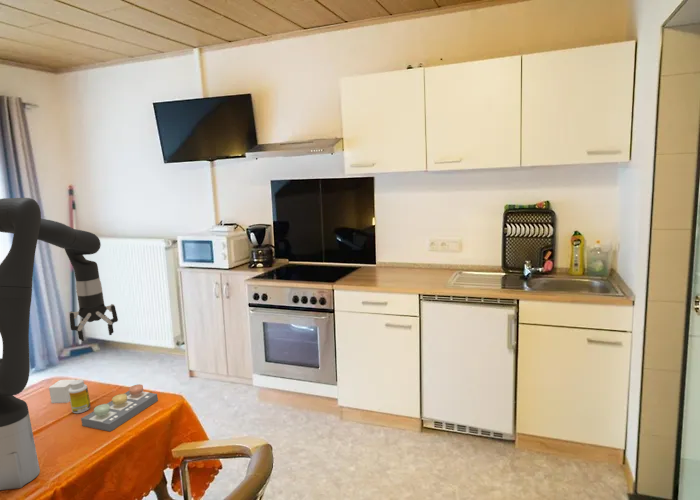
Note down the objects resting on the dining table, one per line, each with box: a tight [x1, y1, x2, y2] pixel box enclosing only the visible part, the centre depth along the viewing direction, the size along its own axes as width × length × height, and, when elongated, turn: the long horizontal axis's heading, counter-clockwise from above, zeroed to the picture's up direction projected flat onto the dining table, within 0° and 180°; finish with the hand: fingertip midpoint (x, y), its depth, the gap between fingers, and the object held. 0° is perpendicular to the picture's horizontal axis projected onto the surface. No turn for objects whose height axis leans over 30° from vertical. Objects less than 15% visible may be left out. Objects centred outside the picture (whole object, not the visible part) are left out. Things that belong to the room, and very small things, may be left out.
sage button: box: [93, 403, 110, 416], centre depth 149 cm, size 4×4×2 cm
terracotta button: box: [128, 384, 144, 395], centre depth 161 cm, size 4×4×2 cm
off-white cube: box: [48, 379, 77, 404], centre depth 168 cm, size 6×6×6 cm
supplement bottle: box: [69, 378, 91, 414], centre depth 158 cm, size 6×6×10 cm
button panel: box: [80, 390, 159, 433], centre depth 156 cm, size 20×12×3 cm, turn 159°
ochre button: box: [111, 393, 127, 405], centre depth 155 cm, size 4×4×2 cm
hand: (96, 337), depth 162 cm, fingers open, 8 cm apart
